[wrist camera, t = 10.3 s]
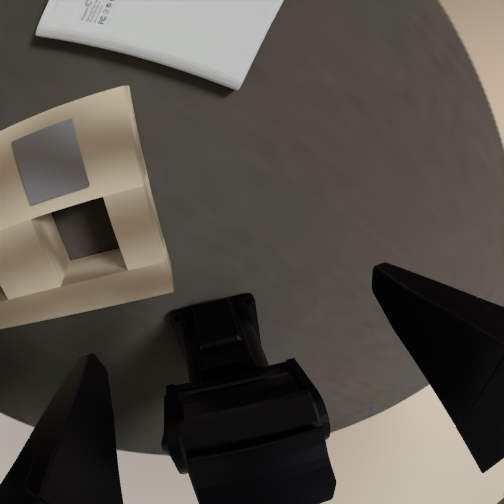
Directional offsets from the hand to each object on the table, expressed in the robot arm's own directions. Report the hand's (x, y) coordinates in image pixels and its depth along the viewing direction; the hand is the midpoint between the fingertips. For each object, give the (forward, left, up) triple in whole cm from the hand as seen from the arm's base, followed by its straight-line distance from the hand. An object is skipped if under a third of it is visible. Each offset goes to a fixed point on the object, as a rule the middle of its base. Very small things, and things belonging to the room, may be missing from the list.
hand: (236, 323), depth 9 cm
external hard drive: (+12, 0, -13) cm, 18 cm away
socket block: (+1, +12, -12) cm, 17 cm away
